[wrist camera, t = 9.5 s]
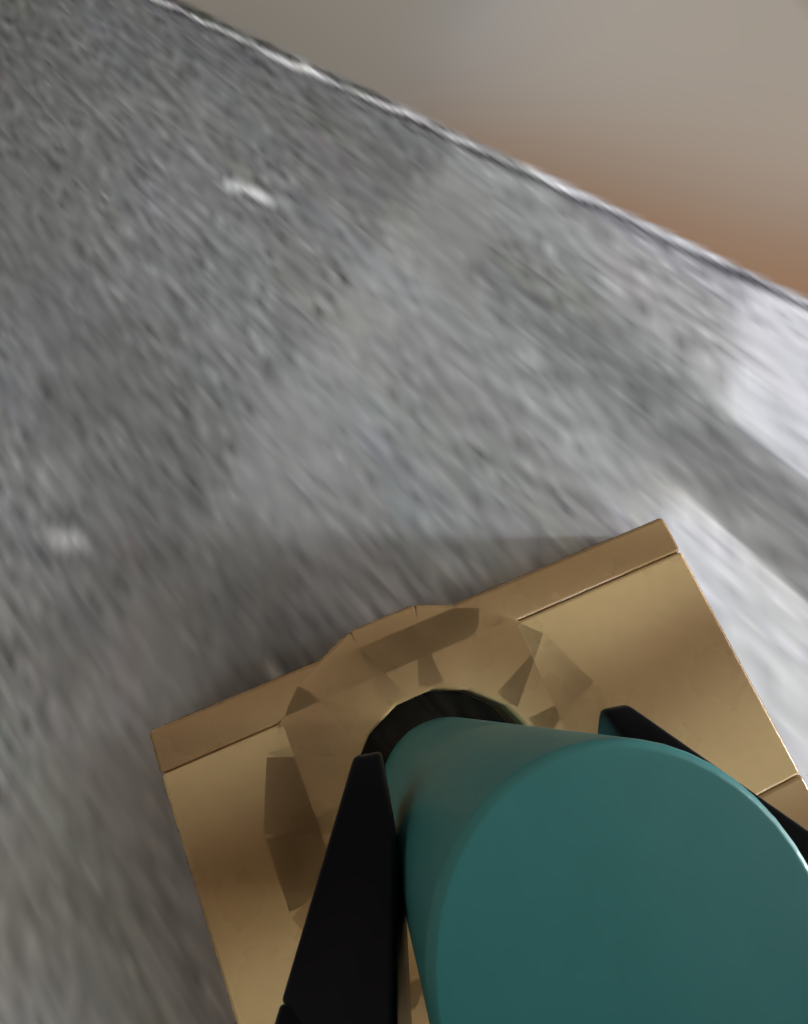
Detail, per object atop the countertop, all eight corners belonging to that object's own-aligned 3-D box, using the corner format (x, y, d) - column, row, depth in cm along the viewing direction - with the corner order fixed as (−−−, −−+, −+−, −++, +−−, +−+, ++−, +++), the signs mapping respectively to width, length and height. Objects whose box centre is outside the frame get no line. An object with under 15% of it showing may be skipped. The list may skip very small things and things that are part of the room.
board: (1053, 1337, 14) (1159, 1433, 13) (493, 1765, 12) (518, 1964, 10) (626, 523, 19) (656, 504, 17) (166, 714, 17) (142, 716, 15)
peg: (543, 830, 15) (936, 1096, 5) (413, 894, 15) (545, 1350, 4) (484, 694, 16) (712, 675, 6) (358, 751, 16) (359, 844, 5)
